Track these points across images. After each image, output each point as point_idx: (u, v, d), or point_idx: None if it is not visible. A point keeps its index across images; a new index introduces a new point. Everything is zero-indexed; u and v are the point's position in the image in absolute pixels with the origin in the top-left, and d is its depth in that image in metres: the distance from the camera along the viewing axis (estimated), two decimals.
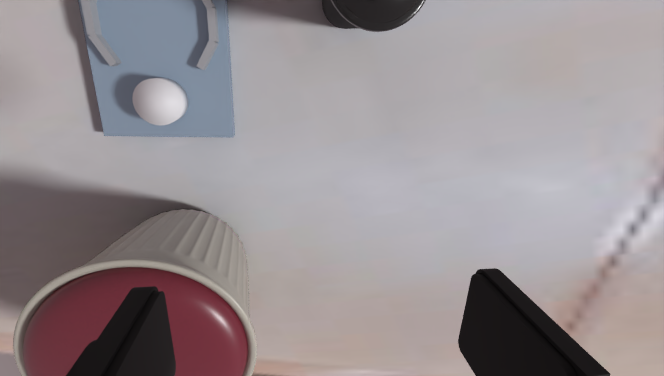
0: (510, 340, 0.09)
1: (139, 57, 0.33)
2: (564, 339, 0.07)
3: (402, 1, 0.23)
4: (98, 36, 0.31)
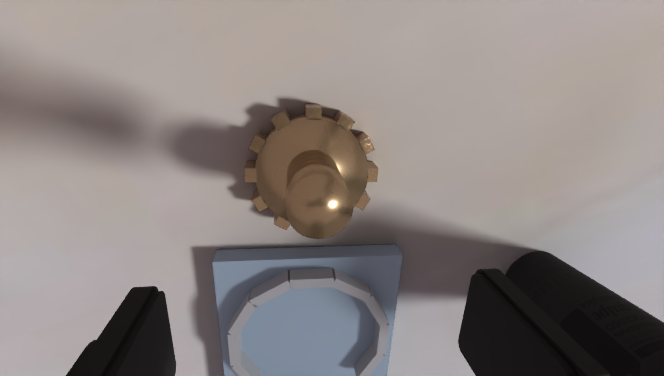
0: (510, 340, 0.09)
1: (284, 365, 0.26)
2: (564, 339, 0.07)
3: None
4: (242, 363, 0.24)
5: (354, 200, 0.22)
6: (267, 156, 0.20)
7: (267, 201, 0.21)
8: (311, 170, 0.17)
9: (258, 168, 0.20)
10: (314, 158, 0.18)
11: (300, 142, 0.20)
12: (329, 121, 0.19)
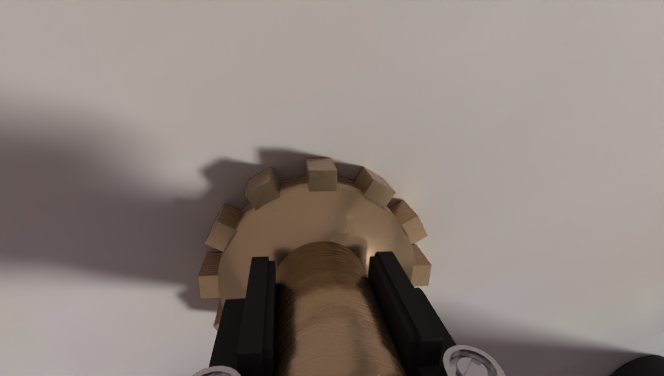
0: (386, 314, 0.09)
1: None
2: (419, 309, 0.08)
3: None
4: None
5: None
6: (239, 255, 0.11)
7: None
8: (323, 321, 0.08)
9: (223, 275, 0.11)
10: (326, 271, 0.10)
11: (299, 230, 0.11)
12: (350, 193, 0.11)
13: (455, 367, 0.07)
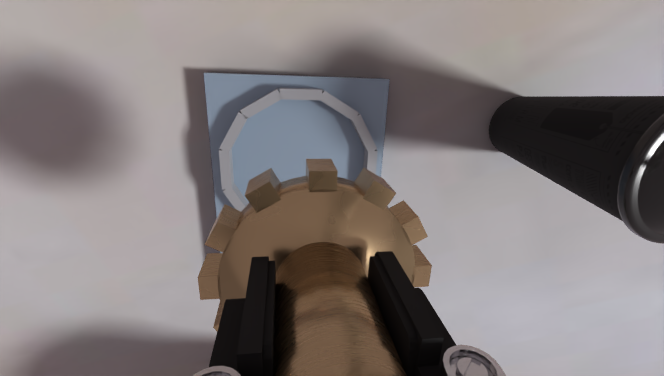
0: (386, 314, 0.09)
1: None
2: (419, 309, 0.08)
3: None
4: (233, 189, 0.25)
5: None
6: (239, 256, 0.11)
7: None
8: (323, 322, 0.08)
9: (223, 276, 0.11)
10: (326, 272, 0.10)
11: (299, 231, 0.11)
12: (350, 193, 0.11)
13: (455, 367, 0.07)
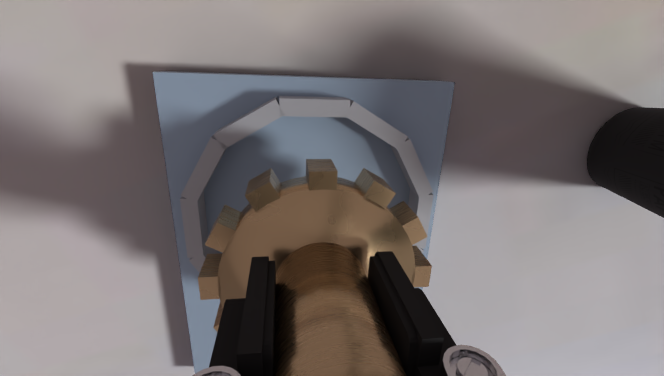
0: (385, 314, 0.09)
1: None
2: (419, 309, 0.08)
3: None
4: None
5: None
6: (239, 256, 0.11)
7: None
8: (322, 323, 0.08)
9: (223, 276, 0.11)
10: (326, 273, 0.10)
11: (299, 231, 0.11)
12: (350, 194, 0.11)
13: (455, 367, 0.07)
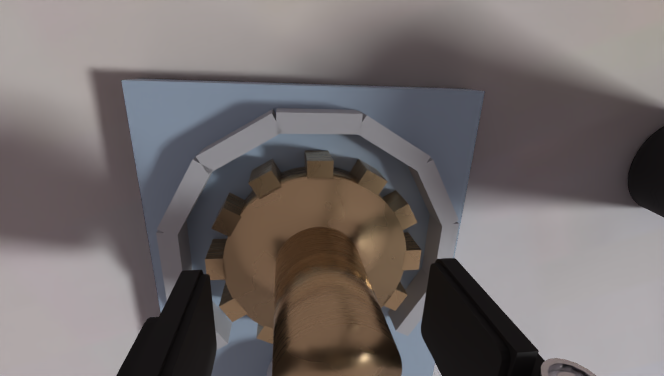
0: (459, 323, 0.09)
1: None
2: (503, 320, 0.08)
3: None
4: None
5: (383, 297, 0.14)
6: (243, 239, 0.12)
7: (245, 306, 0.13)
8: (319, 292, 0.09)
9: (228, 258, 0.12)
10: (322, 252, 0.11)
11: (298, 216, 0.12)
12: (345, 182, 0.12)
13: None
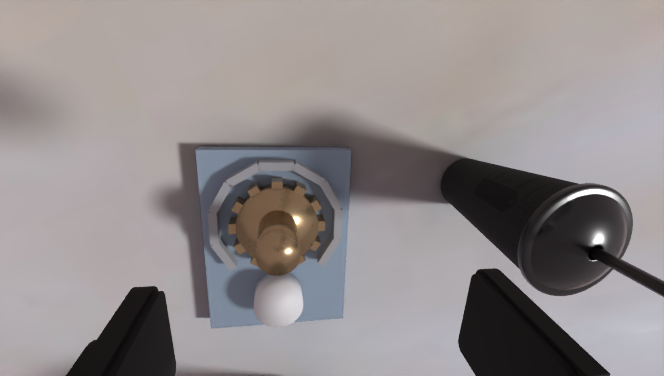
0: (510, 340, 0.09)
1: None
2: (564, 339, 0.07)
3: (600, 275, 0.21)
4: (220, 243, 0.29)
5: (309, 244, 0.30)
6: (244, 215, 0.28)
7: (245, 247, 0.29)
8: (272, 229, 0.25)
9: (238, 224, 0.28)
10: (276, 218, 0.26)
11: (268, 205, 0.28)
12: (288, 190, 0.28)
13: None
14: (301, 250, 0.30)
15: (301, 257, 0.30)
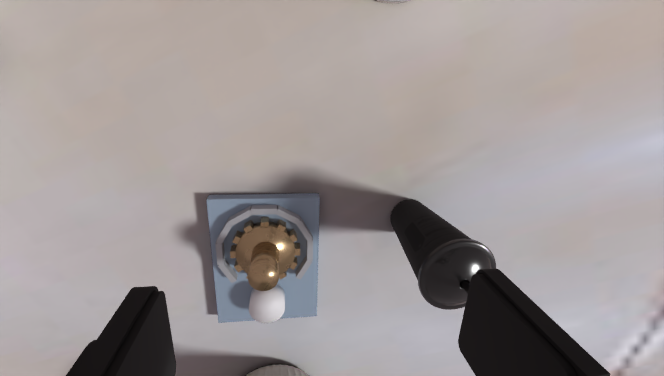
0: (510, 340, 0.09)
1: None
2: (564, 339, 0.07)
3: None
4: (224, 264, 0.40)
5: (288, 264, 0.41)
6: (241, 245, 0.39)
7: (242, 267, 0.40)
8: (260, 259, 0.36)
9: (237, 251, 0.39)
10: (264, 249, 0.38)
11: (258, 238, 0.39)
12: (272, 228, 0.39)
13: None
14: (283, 269, 0.41)
15: (283, 274, 0.41)
